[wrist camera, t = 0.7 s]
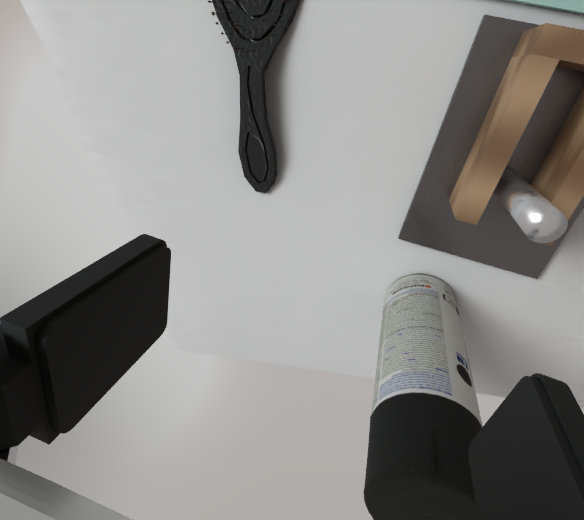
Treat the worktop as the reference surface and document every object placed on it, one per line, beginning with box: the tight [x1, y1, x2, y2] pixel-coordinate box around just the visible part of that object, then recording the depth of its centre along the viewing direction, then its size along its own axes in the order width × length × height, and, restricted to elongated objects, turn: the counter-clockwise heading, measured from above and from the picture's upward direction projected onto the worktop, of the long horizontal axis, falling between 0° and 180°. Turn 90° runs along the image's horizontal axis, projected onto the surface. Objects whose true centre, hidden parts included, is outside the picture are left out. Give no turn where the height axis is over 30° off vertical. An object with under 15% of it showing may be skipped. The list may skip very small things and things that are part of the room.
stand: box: [398, 15, 584, 279], centre depth 23 cm, size 17×12×10 cm
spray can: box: [364, 274, 482, 520], centre depth 26 cm, size 7×7×20 cm
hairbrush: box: [208, 0, 300, 193], centre depth 27 cm, size 8×4×25 cm
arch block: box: [449, 23, 584, 246], centre depth 24 cm, size 12×7×4 cm, turn 168°
